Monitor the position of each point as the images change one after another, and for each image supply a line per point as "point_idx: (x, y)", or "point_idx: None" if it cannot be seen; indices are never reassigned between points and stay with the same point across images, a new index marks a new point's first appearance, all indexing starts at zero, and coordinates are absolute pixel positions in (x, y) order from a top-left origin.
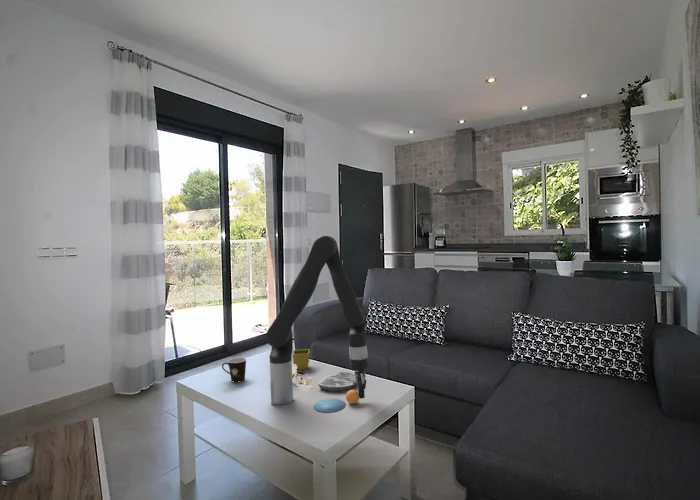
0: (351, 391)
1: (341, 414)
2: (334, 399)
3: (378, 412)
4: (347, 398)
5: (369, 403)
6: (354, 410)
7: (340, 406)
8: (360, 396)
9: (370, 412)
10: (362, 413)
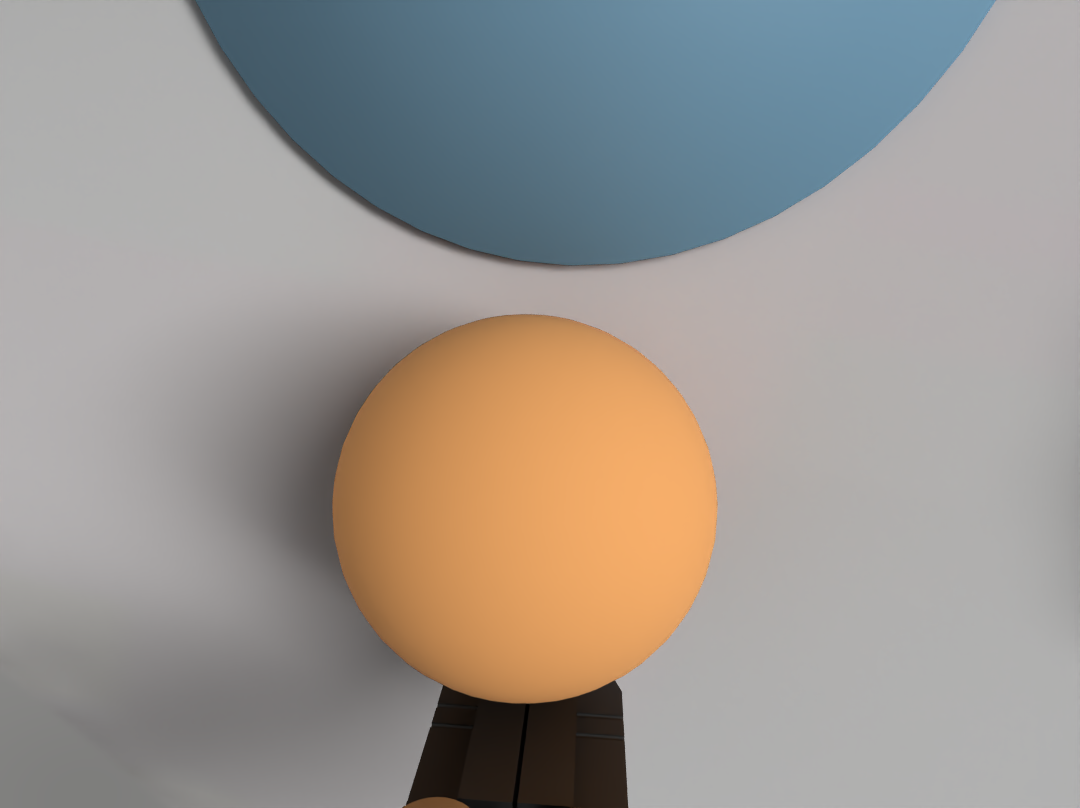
0: (434, 561)
1: (30, 71)
2: (921, 10)
3: (86, 736)
4: (424, 344)
5: None
6: (200, 391)
7: (418, 114)
8: None
9: (93, 631)
10: (61, 501)
